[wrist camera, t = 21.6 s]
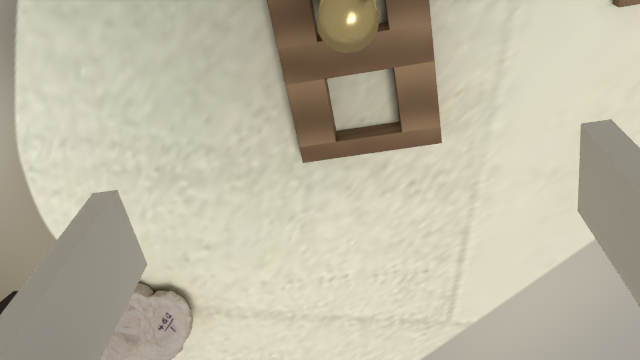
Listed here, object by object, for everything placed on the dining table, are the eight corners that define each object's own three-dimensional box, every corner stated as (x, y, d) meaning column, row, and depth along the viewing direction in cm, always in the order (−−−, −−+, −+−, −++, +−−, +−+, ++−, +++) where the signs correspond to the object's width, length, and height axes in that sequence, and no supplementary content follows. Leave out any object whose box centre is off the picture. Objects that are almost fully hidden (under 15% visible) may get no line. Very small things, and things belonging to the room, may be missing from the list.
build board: (260, -52, 40) (256, -48, 39) (418, -82, 39) (421, -79, 37) (304, 151, 48) (302, 162, 46) (438, 132, 47) (441, 142, 45)
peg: (318, -31, 41) (311, -4, 33) (369, -40, 40) (374, -15, 33) (327, 20, 43) (322, 57, 35) (376, 11, 42) (382, 47, 34)
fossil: (69, 287, 53) (157, 322, 49) (120, 254, 58) (203, 283, 54) (80, 362, 56) (162, 400, 52) (127, 324, 62) (205, 356, 58)
